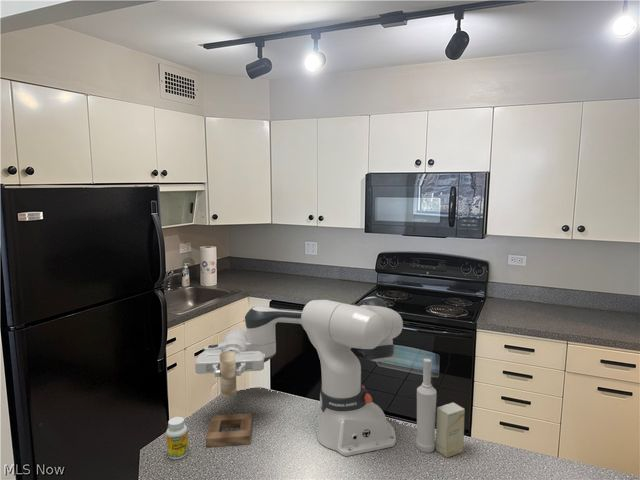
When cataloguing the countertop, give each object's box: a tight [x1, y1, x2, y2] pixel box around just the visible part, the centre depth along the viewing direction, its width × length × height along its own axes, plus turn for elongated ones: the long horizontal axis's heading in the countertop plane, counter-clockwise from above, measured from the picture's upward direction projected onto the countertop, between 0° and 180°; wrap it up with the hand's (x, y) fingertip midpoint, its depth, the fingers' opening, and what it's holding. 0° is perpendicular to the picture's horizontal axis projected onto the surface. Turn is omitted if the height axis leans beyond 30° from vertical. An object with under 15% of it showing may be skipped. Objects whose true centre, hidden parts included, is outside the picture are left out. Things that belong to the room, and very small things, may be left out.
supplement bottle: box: [165, 416, 190, 460], centre depth 112 cm, size 5×5×10 cm
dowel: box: [219, 351, 238, 399], centre depth 120 cm, size 4×4×12 cm
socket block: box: [205, 412, 253, 448], centre depth 122 cm, size 12×12×2 cm
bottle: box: [415, 358, 438, 454], centre depth 113 cm, size 5×5×25 cm
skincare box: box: [435, 402, 466, 458], centre depth 112 cm, size 6×4×12 cm
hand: (227, 373), depth 119 cm, fingers closed on dowel, 4 cm apart
